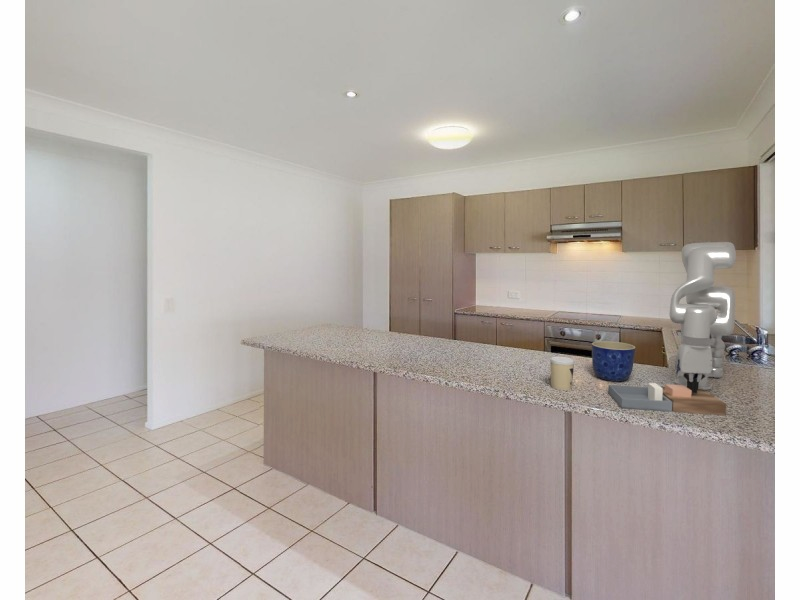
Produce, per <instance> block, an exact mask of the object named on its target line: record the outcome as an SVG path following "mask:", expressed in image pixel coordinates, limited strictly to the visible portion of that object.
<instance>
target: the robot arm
mask: <svg viewBox="0 0 800 600" xmlns="http://www.w3.org/2000/svg"><path fill="white" fill-rule="evenodd" d="M736 252H737V251H736V247H735V245H734V243H732V242H730V241H716V242H714V241H712V242H711V241H710V242H708V241H706V242H702V241H701V242H691V243H687V244H685V245H683V246H682V249H681V259H682V264H683V267H684V270H685V273H686V280H685V281H684V282H683V283H681V284H680V285H679V286H678V287H677V288H676V289H675V290H674V291H673V293H672V295H671V298H670V303H669V304H670V305H669V319H670V321H671V322H672V323H673V324H674V323H675V324H680V331H681V332H680V333H681V337H680V339H681V341H680V344H679V346H678V350H677V351H676V357H675V358H676V359H675V369H676V372H675V374H676V375H677V376H678V378H676V379H675V378H674V380H673V383H674V385H684V386H685V387H687V388H689V389H690V390H692V393H697V390H698V389H703V390H704V391H708V390H711V389H712V384H711V383H709V382H708V378H709V377H710V376H711V372H712V351H711V347H710V346H709V344H710V343H713V339H711V335H720V336H722V337H725V336H731V335H732V334H733V332H734V330H735V321H736V320H735V317H736V294H735V293H736V292H735V290H734V289H733V288H732V287H730V286H726V285H725V286H724V285H714V283H715V270H716V269H717V270H719V269H721V270H722V269H724V270H725V269H727V270H728V269H732V268H733V267H734V266H735V264H736V260H737V253H736ZM684 297H685V301H686V303H680V300H681V299H684ZM710 378H711V377H710Z"/></svg>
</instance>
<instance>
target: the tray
mask: <svg viewBox="0 0 800 600" xmlns="http://www.w3.org/2000/svg"><path fill="white" fill-rule="evenodd" d="M607 394H608V395H609V396H610V398H611V399H614V400H613V401H614V402H615V403H616V404H617V405H618V406H619V407H620V409H624V410H625V409H626V410H639V411H640V410H641V411H653V412H656V411H658V412H672V401H671V400H669V399H668V398H667V397H665V396H664V395H663V394H662V401H661V400H649V399H648V386H633V385H632V386H631V385H630V386H629V385H618V384H617V385H615V384H613V385H612V384H608V391H607Z"/></svg>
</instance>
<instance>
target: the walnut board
mask: <svg viewBox="0 0 800 600" xmlns="http://www.w3.org/2000/svg"><path fill="white" fill-rule="evenodd" d="M660 387H661V388H663V393H662V394H663V395H664V396H665V397H667V398H668V399H669V400H671V401H672V412H674V413H683V414H684V413H687V414H700V415H701V414H703V415H718V416H726V412H727V411H726V410H727V402H724V401H723V400H721V399H720V398H717V397H715V396H714V395H713V394H711V393H709V392H707V390H703V389H698V390H697V393H691V397H678V396H671V395H670V394H669V393H667V392H666V391H665V386H660Z"/></svg>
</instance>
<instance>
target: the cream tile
mask: <svg viewBox="0 0 800 600" xmlns="http://www.w3.org/2000/svg"><path fill="white" fill-rule="evenodd" d="M647 387H648V399H649V400H661V401H662V393H663V388H661V387H662V386H661V385H659V384H657V383H655V382H649V383H647Z"/></svg>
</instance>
